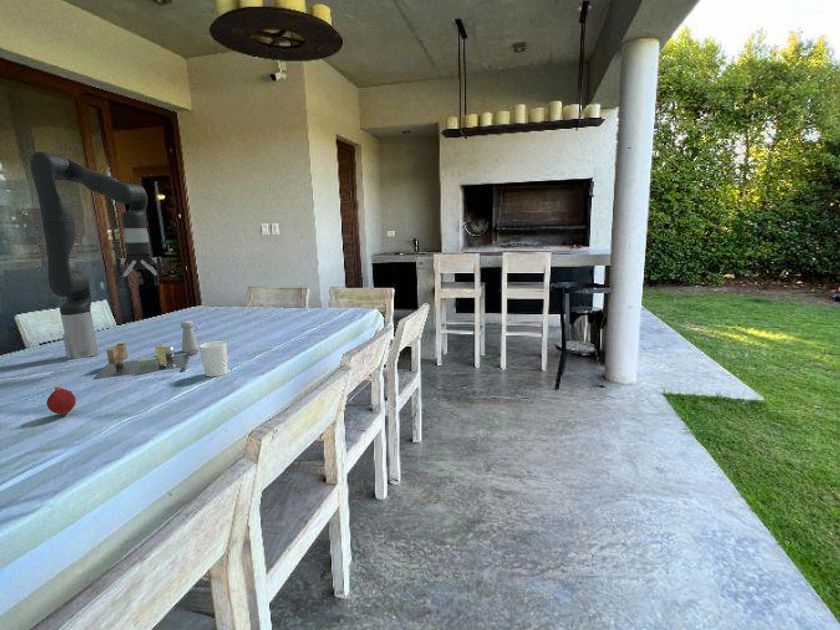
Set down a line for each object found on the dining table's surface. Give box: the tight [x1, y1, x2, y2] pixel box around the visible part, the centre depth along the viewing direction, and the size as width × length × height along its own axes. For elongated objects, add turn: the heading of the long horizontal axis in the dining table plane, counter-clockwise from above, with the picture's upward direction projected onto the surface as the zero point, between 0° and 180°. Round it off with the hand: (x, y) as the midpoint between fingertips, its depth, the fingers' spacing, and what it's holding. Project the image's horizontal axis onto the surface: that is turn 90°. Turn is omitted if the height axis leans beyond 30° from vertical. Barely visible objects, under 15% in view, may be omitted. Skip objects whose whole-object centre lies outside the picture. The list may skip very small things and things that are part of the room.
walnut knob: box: [106, 342, 129, 367], centre depth 151 cm, size 7×2×7 cm, turn 2°
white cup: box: [199, 340, 229, 378], centre depth 145 cm, size 8×8×10 cm
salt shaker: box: [180, 320, 200, 356], centre depth 169 cm, size 6×6×13 cm
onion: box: [46, 386, 77, 417], centre depth 115 cm, size 6×6×8 cm
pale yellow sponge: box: [154, 344, 167, 367], centre depth 149 cm, size 7×2×7 cm, turn 38°
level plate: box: [91, 345, 191, 380], centre depth 152 cm, size 26×18×6 cm
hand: (142, 285), depth 163 cm, fingers open, 8 cm apart
